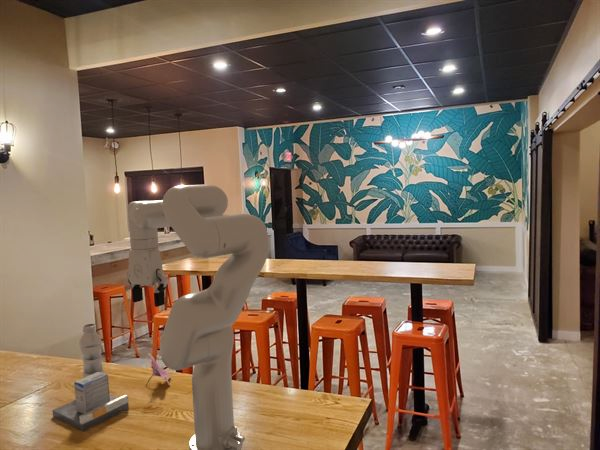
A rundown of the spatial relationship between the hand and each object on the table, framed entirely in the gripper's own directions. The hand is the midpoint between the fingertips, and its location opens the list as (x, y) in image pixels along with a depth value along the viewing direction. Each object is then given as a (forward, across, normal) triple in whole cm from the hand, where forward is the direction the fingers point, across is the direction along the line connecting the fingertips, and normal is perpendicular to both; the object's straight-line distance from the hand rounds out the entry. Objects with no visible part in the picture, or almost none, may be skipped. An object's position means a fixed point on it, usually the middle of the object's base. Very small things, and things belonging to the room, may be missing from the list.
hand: (148, 303), depth 133 cm
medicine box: (+28, -11, -13) cm, 33 cm away
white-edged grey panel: (+30, -12, -13) cm, 35 cm away
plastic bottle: (+31, -28, -2) cm, 41 cm away
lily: (+31, -10, +9) cm, 34 cm away
